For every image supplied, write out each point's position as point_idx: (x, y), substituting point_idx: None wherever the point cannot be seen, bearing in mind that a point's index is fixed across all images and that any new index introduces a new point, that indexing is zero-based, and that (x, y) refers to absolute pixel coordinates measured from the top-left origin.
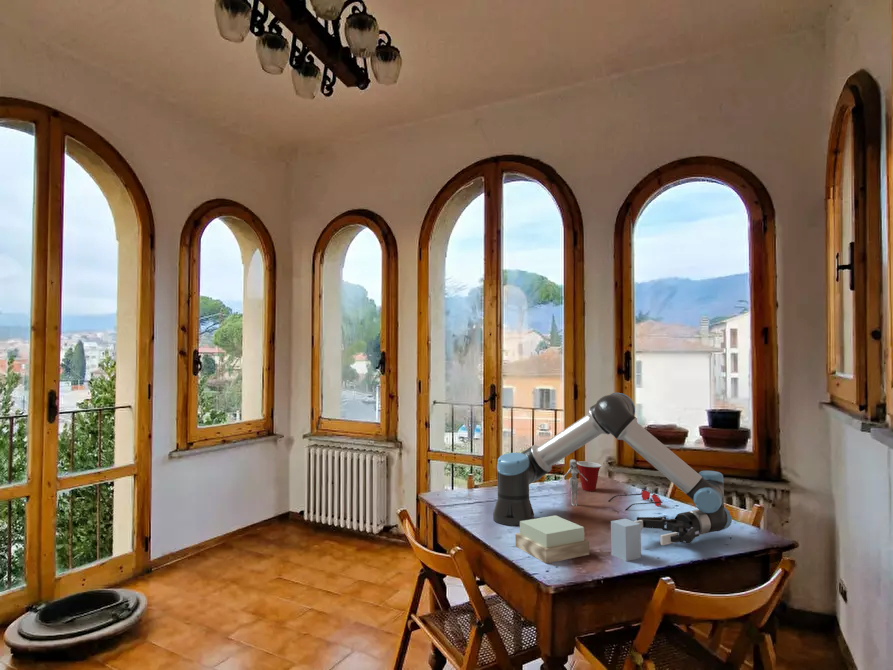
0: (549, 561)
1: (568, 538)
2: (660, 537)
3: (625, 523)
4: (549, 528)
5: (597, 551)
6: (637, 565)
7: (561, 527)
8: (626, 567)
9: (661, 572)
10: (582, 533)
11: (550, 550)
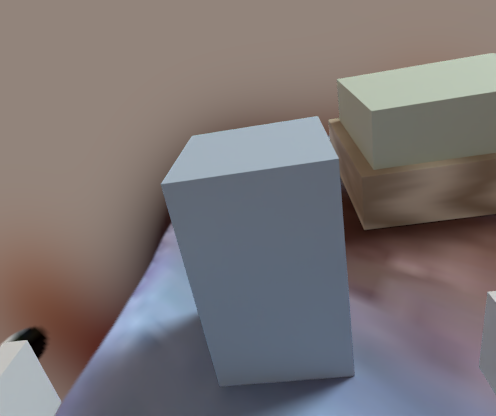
0: None
1: (354, 125)
2: (35, 356)
3: (235, 142)
4: (389, 78)
5: (394, 261)
6: (165, 312)
7: (391, 87)
8: (184, 273)
9: (41, 350)
10: (369, 135)
11: (330, 128)
